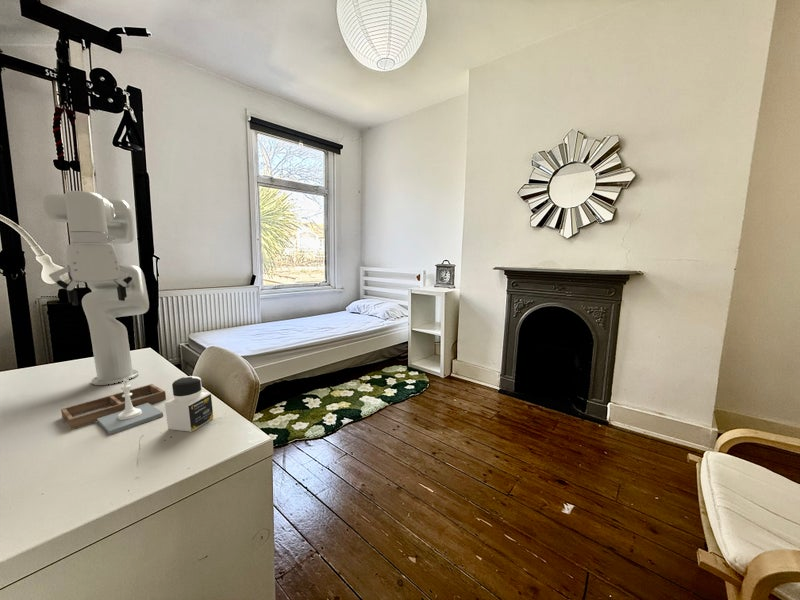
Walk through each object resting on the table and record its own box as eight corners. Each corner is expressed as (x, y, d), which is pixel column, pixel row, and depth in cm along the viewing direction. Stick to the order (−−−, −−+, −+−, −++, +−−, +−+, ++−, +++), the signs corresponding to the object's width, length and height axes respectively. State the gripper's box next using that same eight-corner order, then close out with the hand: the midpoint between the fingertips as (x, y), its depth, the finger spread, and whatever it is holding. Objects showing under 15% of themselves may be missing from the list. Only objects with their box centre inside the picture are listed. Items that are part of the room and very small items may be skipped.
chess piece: (112, 419, 83) (107, 382, 82) (130, 410, 88) (125, 375, 87) (129, 420, 83) (123, 383, 81) (146, 411, 88) (141, 375, 86)
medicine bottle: (191, 432, 78) (186, 385, 77) (167, 429, 80) (161, 383, 78) (214, 418, 85) (209, 374, 84) (191, 415, 87) (186, 373, 85)
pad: (97, 422, 84) (96, 418, 84) (148, 405, 93) (147, 402, 93) (109, 434, 78) (109, 431, 78) (163, 416, 87) (162, 412, 87)
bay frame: (62, 417, 87) (60, 409, 87) (152, 391, 103) (151, 383, 103) (71, 429, 81) (69, 420, 81) (166, 399, 97) (165, 391, 97)
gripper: (126, 241, 96) (133, 298, 98) (40, 239, 82) (51, 305, 84) (135, 240, 92) (142, 299, 94) (46, 238, 78) (57, 308, 80)
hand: (99, 302), depth 89 cm, fingers open, 9 cm apart
